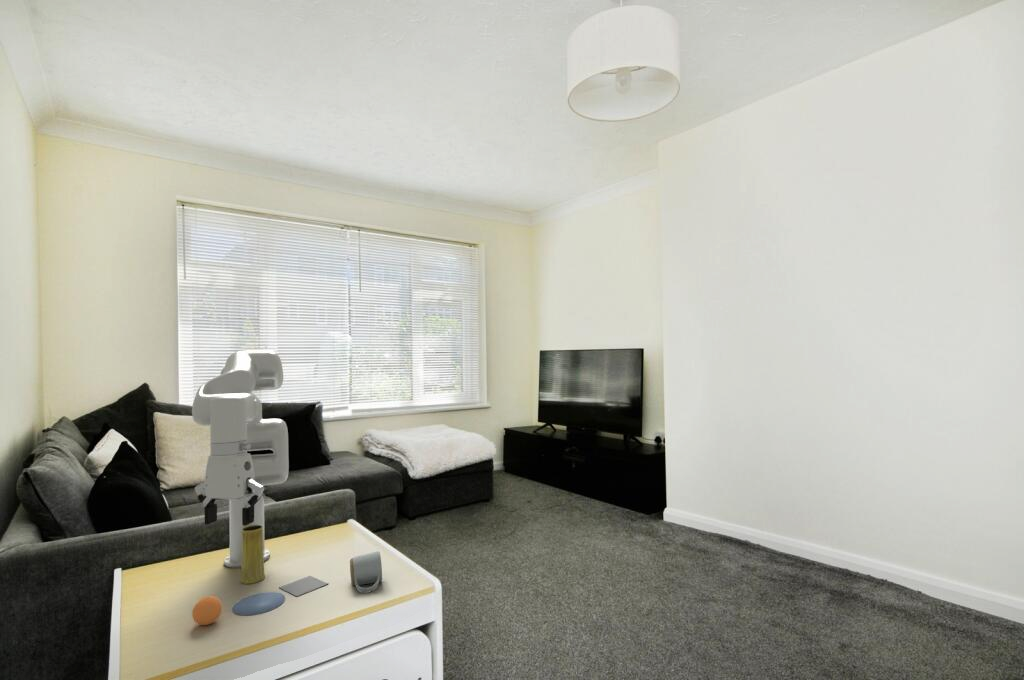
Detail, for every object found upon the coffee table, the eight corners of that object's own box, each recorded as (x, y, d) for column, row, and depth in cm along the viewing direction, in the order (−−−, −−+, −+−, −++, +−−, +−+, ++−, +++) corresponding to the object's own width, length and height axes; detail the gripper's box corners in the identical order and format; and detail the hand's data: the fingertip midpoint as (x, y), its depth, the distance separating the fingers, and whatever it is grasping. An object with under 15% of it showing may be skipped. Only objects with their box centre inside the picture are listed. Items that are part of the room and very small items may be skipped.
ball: (187, 625, 120) (187, 598, 121) (215, 614, 125) (215, 589, 125) (198, 633, 117) (198, 606, 117) (226, 622, 121) (226, 596, 122)
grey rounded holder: (349, 579, 143) (349, 551, 143) (379, 574, 146) (379, 547, 146) (352, 596, 133) (351, 566, 133) (384, 590, 136) (384, 561, 136)
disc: (223, 606, 129) (223, 605, 129) (270, 588, 139) (270, 587, 139) (245, 620, 122) (245, 619, 122) (294, 600, 131) (294, 600, 131)
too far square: (278, 588, 139) (278, 587, 139) (310, 576, 146) (310, 575, 146) (296, 596, 133) (296, 596, 133) (328, 584, 141) (328, 583, 141)
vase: (269, 576, 147) (269, 525, 147) (252, 585, 141) (251, 532, 141) (252, 573, 149) (252, 523, 149) (235, 582, 143) (234, 530, 143)
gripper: (272, 446, 124) (273, 519, 123) (208, 446, 127) (208, 517, 126) (251, 451, 116) (252, 529, 115) (183, 451, 119) (183, 527, 118)
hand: (229, 523), depth 121 cm, fingers open, 9 cm apart
